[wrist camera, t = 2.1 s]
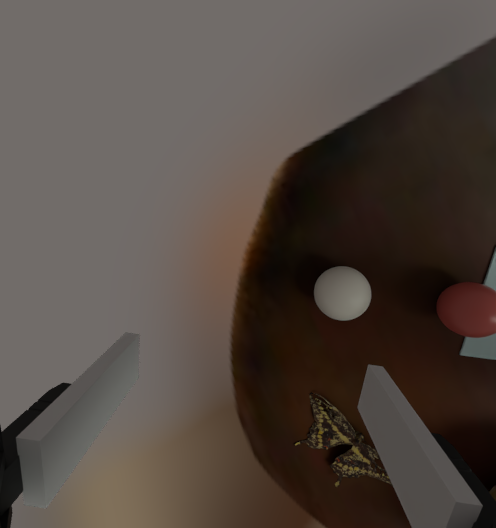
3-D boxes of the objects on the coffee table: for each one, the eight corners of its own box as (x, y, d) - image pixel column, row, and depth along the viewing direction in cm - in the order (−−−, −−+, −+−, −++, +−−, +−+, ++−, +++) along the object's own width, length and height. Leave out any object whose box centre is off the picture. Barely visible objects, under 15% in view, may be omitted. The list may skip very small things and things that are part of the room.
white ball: (364, 264, 32) (387, 278, 26) (354, 310, 33) (373, 334, 27) (314, 258, 32) (325, 270, 26) (306, 304, 33) (315, 326, 27)
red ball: (484, 278, 31) (535, 296, 25) (468, 325, 32) (513, 352, 27) (432, 272, 31) (471, 288, 25) (419, 319, 33) (452, 344, 27)
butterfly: (268, 421, 38) (318, 392, 34) (275, 403, 41) (321, 373, 37) (361, 519, 37) (426, 501, 32) (361, 492, 40) (420, 472, 36)
